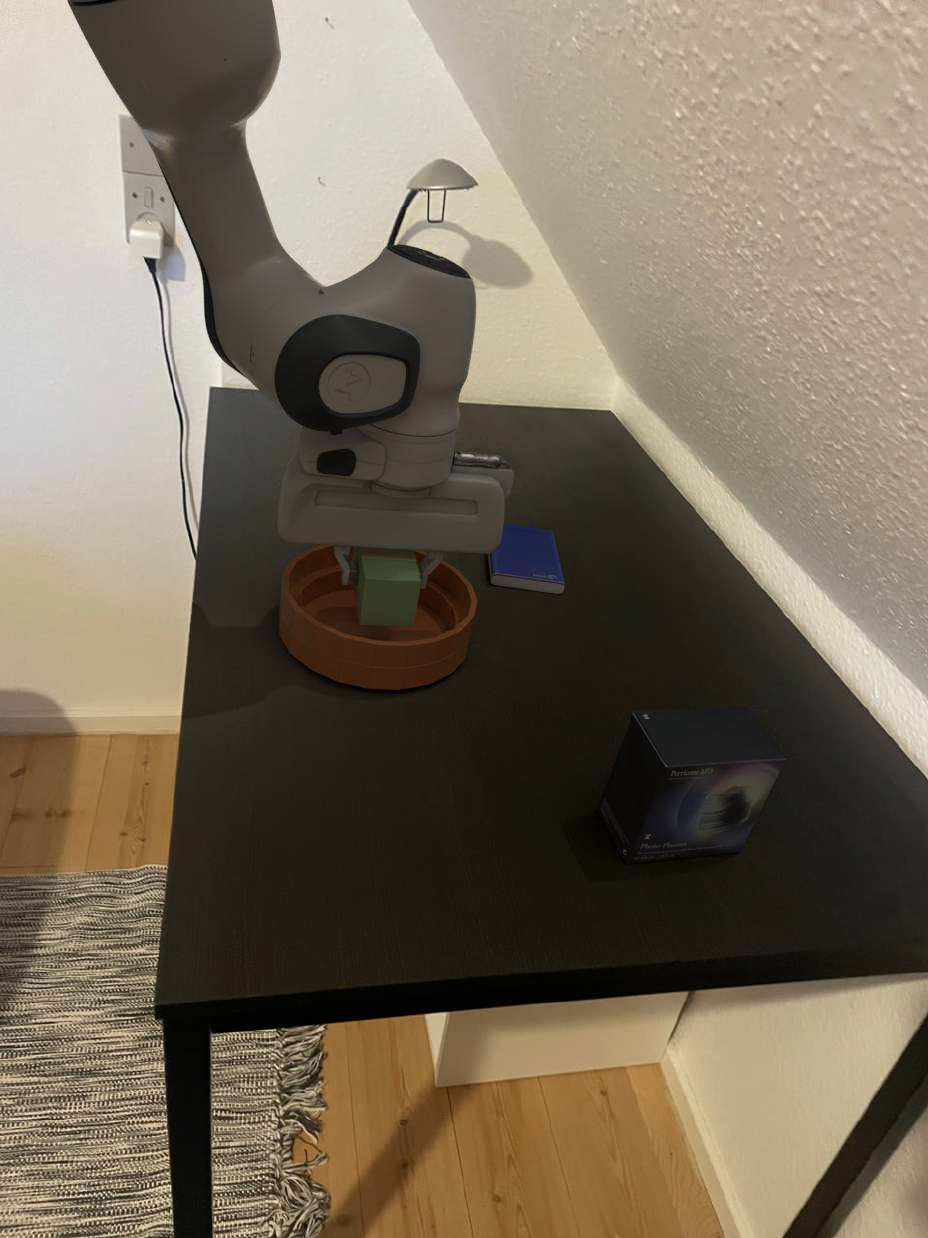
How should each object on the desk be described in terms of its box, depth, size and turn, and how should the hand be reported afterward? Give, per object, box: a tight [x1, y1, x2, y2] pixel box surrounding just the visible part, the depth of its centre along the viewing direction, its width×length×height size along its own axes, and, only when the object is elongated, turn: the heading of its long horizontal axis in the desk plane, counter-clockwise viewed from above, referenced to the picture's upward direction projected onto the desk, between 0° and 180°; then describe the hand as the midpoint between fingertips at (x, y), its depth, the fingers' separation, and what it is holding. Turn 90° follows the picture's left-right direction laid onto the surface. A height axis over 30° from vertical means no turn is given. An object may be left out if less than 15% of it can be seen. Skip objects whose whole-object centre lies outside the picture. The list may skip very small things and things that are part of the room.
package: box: [352, 546, 421, 627], centre depth 88 cm, size 5×9×5 cm, turn 10°
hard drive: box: [487, 523, 566, 595], centre depth 109 cm, size 2×8×12 cm
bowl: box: [278, 544, 478, 691], centre depth 90 cm, size 18×18×6 cm
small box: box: [595, 705, 787, 865], centre depth 73 cm, size 11×6×10 cm, turn 105°
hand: (382, 583), depth 88 cm, fingers closed on package, 5 cm apart
